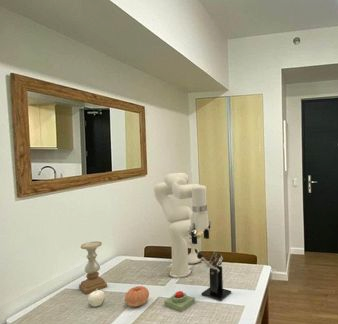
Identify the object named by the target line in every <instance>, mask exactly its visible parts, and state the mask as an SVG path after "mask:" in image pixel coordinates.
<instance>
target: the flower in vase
mask: <svg viewBox="0 0 338 324" xmlns="http://www.w3.org/2000/svg"><path fill="white" fill-rule="evenodd" d="M203 234H204V230H202V231H199V232H198V233H197V235H196V236H197V239H201V238H202V236H201V235H203ZM188 238H189V239H190V240H189V241H188V243H189V244H190V253H188V264H197V263H200V262H201V261H202V259H198V258H197V254H198V253H197V252H196V250H195V245H196V244H192V236H188Z"/></svg>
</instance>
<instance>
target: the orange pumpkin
mask: <svg viewBox="0 0 338 324" xmlns="http://www.w3.org/2000/svg"><path fill="white" fill-rule="evenodd" d="M149 296H150V292H149V289H148V288H147V287H145V286H143V285H140V286H134V287H132V288H129V290H128V291H127V292H126V293H125V296H124V302H125V303H126V305H128V306H129V307H133V308H134V307H139V306H142V305H144V304H145V303H147V301H148V299H149Z"/></svg>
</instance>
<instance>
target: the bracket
mask: <svg viewBox="0 0 338 324" xmlns="http://www.w3.org/2000/svg"><path fill="white" fill-rule="evenodd" d="M213 267H214V268H215V267H217V268H218V269H219V270H220V271H219V273H218V270H217V269H213V268H210V267H209V287H208V288H207V289H205V290H204V291H202V292H201V296H203V297H205V298H209V299H213V300H216V301H219V302H222V301H223V300H225V299H226V298H227V297H229V295H231V294H232V290H229V289H226V288H224V286H223V284H224V283H223V266H221V265H215V266H213Z"/></svg>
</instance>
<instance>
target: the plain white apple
mask: <svg viewBox="0 0 338 324" xmlns="http://www.w3.org/2000/svg"><path fill="white" fill-rule="evenodd" d="M97 289H98V288H97ZM97 289H96V291H93V292H91V293H89V294H88V297H87V299H88V302H89V304H90V305H91V307H99V306H101V305H102V303H103V302H104V300H105V296H106V295H105V292H104V291H103V290H102V289H100V290H97Z"/></svg>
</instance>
